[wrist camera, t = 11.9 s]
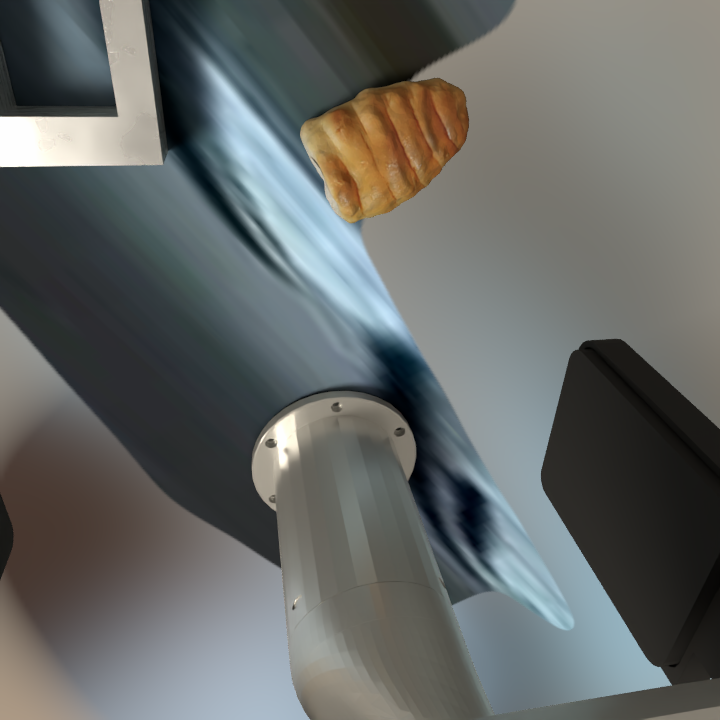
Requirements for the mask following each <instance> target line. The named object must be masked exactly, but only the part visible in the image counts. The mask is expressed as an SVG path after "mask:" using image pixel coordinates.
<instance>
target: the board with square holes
mask: <svg viewBox="0 0 720 720" xmlns="http://www.w3.org/2000/svg"><path fill="white" fill-rule="evenodd" d="M99 2H100V8H101V15H102V21H103V27H104V33H105V39H106V45H107V51H108V57H109V63H110V69H111V76H112V82H113V88H114V94H115V100H116V106H16V102H15V98H14V94H13V89H12V85H11V81H10V77H9V73H8V69H7V65H6V61H5V57H4V53H3V48H2V44H1V40H0V167H9V166H103V165H163V164H164V161H165V158H166V155H167V153H168V146H167V139H166V131H165V123H164V115H163V107H162V99H161V91H160V83H159V76H158V68H157V60H156V52H155V44H154V36H153V28H152V20H151V13H150V5H149V0H99Z"/></svg>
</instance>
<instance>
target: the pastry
mask: <svg viewBox="0 0 720 720" xmlns="http://www.w3.org/2000/svg"><path fill="white" fill-rule="evenodd" d="M468 128H469V118H468V112H467V107H466V97H465V94H464V92H463V91H462V90H461V89H459V88H458V87H456V86H454V85H452V84H450V83H447V82H446V81H444V80H442V79H440V78H433V79H429V80H423V81H418V82H411V81H402V82H399V83H395V84H392V85H389V86H385V87H379V88H368V89H365V90H363V91H361V92H360V93H359V94H358V95H357V96H356V97H355V98H354V99H353V100H351V101H348V102H346V103H344V104H342V105H340V106H337V107H334V108H332V109H330V110H328V111H327V112H326V113H324V114H323V115H321V116H320V117H316V118H312V119H309V120H307V121H306V122H305V123H304V124H303V126H302V127H301V132H300V137H301V139H302V142H303V144H304V147H305V149H306V150H307V153H308V155H309V157H310V159H311V161H312V163H313V164H314V166H315V167H316V169H317V172H318V173H319V174H320V176H321V177H322V179H323V180H324V183H325V194H326V197H327V199H328V201H329V203H330V204H331V207H332V209H333V210H334V211H335V213H336V214H337V215H339V216H340V217H341V218H343V219H344V220H345V221H347V222H349V223H355V222H356V221H358V220H360V219H364V218H371V217H374V216H376V215H380V214H384V213H387V212H390V211H392V210H393V209H394V208H396V207H397V206H399V205H400V204H401V203H402V202H404V201H407V200H409V199H410V198H412V197H414V196H415V195H416V194H417V193H418V192H419V191H420V190H421V189H423V188H425V187H426V186H427V185H429V183H430V182H431V180H432V179H433V178H434V177H436V176H437V175H438V174H439V173H440V172H441V170H442V167H443V166H445V164H446V163H447V162H448V161H449V160H450V159H451V158H452V157H453V156H454V155H455V154H456V153H457V152H458V151H459V150H460V149H461V147H462V146H463V144H464V143H465V141H466V137H467V132H468Z"/></svg>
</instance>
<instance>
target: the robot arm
mask: <svg viewBox="0 0 720 720" xmlns="http://www.w3.org/2000/svg"><path fill="white" fill-rule="evenodd" d="M415 461H416V444H415V440H414V437H413V433H412V431H411V429H410V427H409V424H408V422H407V421H406V420H405V418H404V417H403V415H402V414H401V413H400V412H399V411H398V410H397V409H396V408H394V407H393V406H392V405H391V404H389V403H388V402H386V401H384V400H382V399H380V398H378V397H375V396H372V395H369V394H366V393H361V392H353V391H331V392H325V393H320V394H315V395H312V396H309V397H307V398H304V399H301V400H299V401H297V402H295V403H293V404H291V405H290V406H288V407H286V408H284V409H283V410H282V411H281V412H279V413H278V414H277V415H276V416H274V417H273V418H272V419H271V420H270V421H269V423H268V424H267V425H266V426H265V427H264V428H263V430H262V432H261V433H260V435H259V437H258V439H257V440H256V443H255V446H254V450H253V453H252V475H253V481H254V484H255V487H256V490H257V492H258V493H259V495H260V496H261V498H262V499H263V501H264V502H265V503H266V504H268V505H269V506H270V507H271V508H272V509H273V510H275V511H276V512H277V522H278V534H279V545H280V556H281V568H282V579H283V590H284V601H285V613H286V625H287V636H288V648H289V657H290V668H291V675H292V680H293V685H294V688H295V690H296V694H297V697H298V699H299V701H300V703H301V705H302V707H303V709H304V711H305V713H306V714H307V716H308V717H309V718H310V720H720V429H719V428H718V427H717V426H716V425H715V424H714V423H712V422H711V421H710V420H709V419H708V418H707V417H706V416H705V415H704V414H703V413H702V412H701V411H699V410H698V409H697V408H696V407H695V406H694V405H693V404H692V403H691V402H690V401H689V400H687V399H686V398H685V397H684V396H683V395H682V394H681V393H680V392H678V390H677V389H675V388H674V387H673V386H672V385H671V384H670V383H669V382H668V381H667V380H666V379H665V378H664V377H662V376H661V375H660V374H659V373H658V372H657V371H656V370H655V369H654V368H653V367H651V366H650V365H649V364H648V363H647V362H646V361H645V360H644V359H643V358H642V357H641V356H640V355H638V354H637V353H636V352H635V351H634V350H633V349H632V348H631V347H630V346H629V345H628V344H627V343H625V342H624V341H622V340H621V339H606V340H591V341H585V342H583V343H582V345H581V346H580V347H579V350H575V351H573V353H572V354H571V356H570V358H569V362H568V366H567V370H566V374H565V378H564V382H563V386H562V390H561V394H560V398H559V402H558V406H557V410H556V414H555V418H554V422H553V426H552V430H551V434H550V438H549V442H548V446H547V450H546V454H545V458H544V462H543V466H542V470H541V482H542V486H543V489H544V491H545V493H546V495H547V497H548V498H549V500H550V501H551V503H552V505H553V506H554V508H555V510H556V511H557V513H558V515H559V516H560V518H561V519H562V521H563V523H564V524H565V526H566V528H567V529H568V531H569V532H570V534H571V536H572V537H573V539H574V541H575V542H576V544H577V545H578V547H579V549H580V550H581V552H582V554H583V555H584V557H585V559H586V560H587V562H588V563H589V565H590V567H591V568H592V570H593V572H594V573H595V575H596V576H597V578H598V580H599V581H600V582H601V585H602V586H603V588H604V589H605V591H606V593H607V594H608V596H609V597H610V599H611V601H612V603H613V604H614V606H615V607H616V609H617V611H618V612H619V614H620V615H621V617H622V619H623V620H624V622H625V624H626V625H627V627H628V628H629V630H630V632H631V633H632V635H633V637H634V638H635V640H636V641H637V643H638V645H639V647H640V648H641V650H642V651H643V653H644V654H645V656H646V658H647V659H648V660H649V661H650V662H651V663H652V664H653V665H655V666H657V667H661V668H662V670H663V671H664V673H665V675H666V676H667V678H668V679H669V681H670V683H671V684H672V686H666V687H660V688H654V689H649V690H642V691H636V692H631V693H624V694H618V695H612V696H606V697H600V698H594V699H588V700H582V701H576V702H570V703H564V704H558V705H552V706H546V707H540V708H534V709H528V710H522V711H516V712H510V713H504V714H498V715H495V714H494V712H493V710H492V708H491V706H490V704H489V701H488V699H487V697H486V694H485V692H484V689H483V687H482V685H481V682H480V680H479V677H478V675H477V673H476V670H475V668H474V665H473V662H472V660H471V657H470V655H469V652H468V649H467V646H466V644H465V641H464V638H463V635H462V633H461V630H460V627H459V624H458V621H457V619H456V616H455V613H454V610H453V608H452V605H451V602H450V599H449V596H448V593H447V591H446V588H445V585H444V582H443V579H442V576H441V574H440V571H439V568H438V565H437V562H436V560H435V557H434V554H433V551H432V548H431V546H430V543H429V540H428V537H427V534H426V531H425V529H424V526H423V523H422V520H421V517H420V515H419V512H418V509H417V506H416V503H415V501H414V498H413V495H412V492H411V489H410V486H409V484H408V480H409V478H410V476H411V474H412V472H413V469H414V465H415ZM12 546H13V528H12V524H11V521H10V518H9V516H8V513H7V511H6V508H5V505H4V502H3V500H2V497H1V495H0V579H1V576H2V574H3V571H4V569H5V566H6V563H7V560H8V558H9V555H10V552H11V550H12ZM710 678H712V679H711V680H710Z"/></svg>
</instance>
